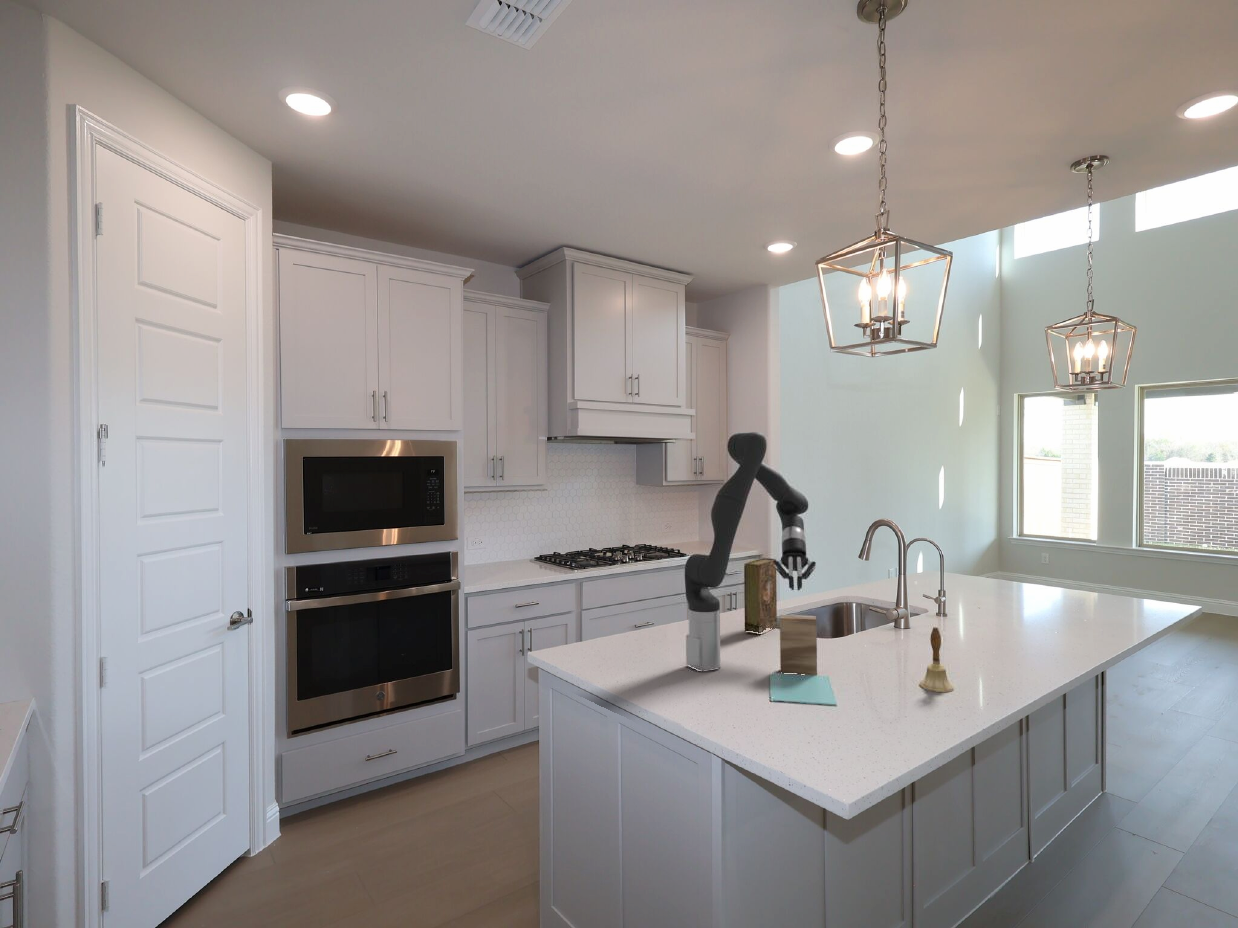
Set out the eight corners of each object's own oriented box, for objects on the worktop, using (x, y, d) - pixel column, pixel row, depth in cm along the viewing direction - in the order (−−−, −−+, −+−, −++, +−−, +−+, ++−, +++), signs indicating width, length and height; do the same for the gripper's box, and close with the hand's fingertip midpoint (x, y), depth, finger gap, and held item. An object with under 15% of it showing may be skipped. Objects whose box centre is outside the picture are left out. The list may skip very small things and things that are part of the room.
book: (764, 624, 245) (763, 557, 245) (778, 626, 241) (777, 558, 242) (744, 633, 232) (743, 563, 232) (759, 636, 228) (758, 564, 228)
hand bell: (958, 693, 170) (957, 631, 170) (924, 691, 171) (923, 630, 171) (948, 682, 178) (947, 624, 178) (915, 681, 180) (914, 623, 180)
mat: (836, 705, 162) (836, 703, 162) (770, 701, 165) (770, 699, 165) (828, 677, 183) (828, 675, 183) (770, 673, 187) (770, 672, 187)
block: (817, 675, 185) (816, 619, 185) (780, 673, 187) (780, 617, 187) (816, 671, 189) (815, 616, 189) (780, 669, 191) (779, 614, 191)
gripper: (772, 536, 211) (772, 580, 199) (816, 536, 208) (819, 582, 196) (772, 550, 216) (773, 595, 204) (814, 551, 213) (818, 596, 201)
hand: (795, 588), depth 200 cm, fingers closed
